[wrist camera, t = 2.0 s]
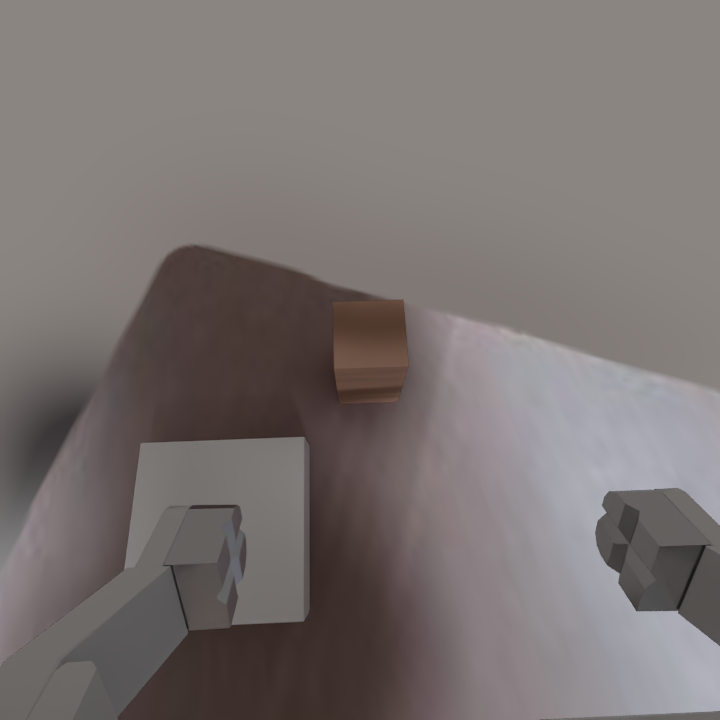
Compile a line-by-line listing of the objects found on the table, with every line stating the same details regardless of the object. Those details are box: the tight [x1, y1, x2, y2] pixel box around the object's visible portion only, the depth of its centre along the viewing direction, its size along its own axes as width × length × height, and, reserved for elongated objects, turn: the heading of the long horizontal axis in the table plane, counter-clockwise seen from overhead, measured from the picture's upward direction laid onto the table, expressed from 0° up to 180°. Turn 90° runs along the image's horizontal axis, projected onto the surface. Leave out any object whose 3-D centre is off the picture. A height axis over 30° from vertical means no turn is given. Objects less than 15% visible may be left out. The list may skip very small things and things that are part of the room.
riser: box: [124, 437, 310, 625], centre depth 33 cm, size 12×12×4 cm
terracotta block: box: [333, 300, 409, 404], centre depth 35 cm, size 5×5×9 cm
